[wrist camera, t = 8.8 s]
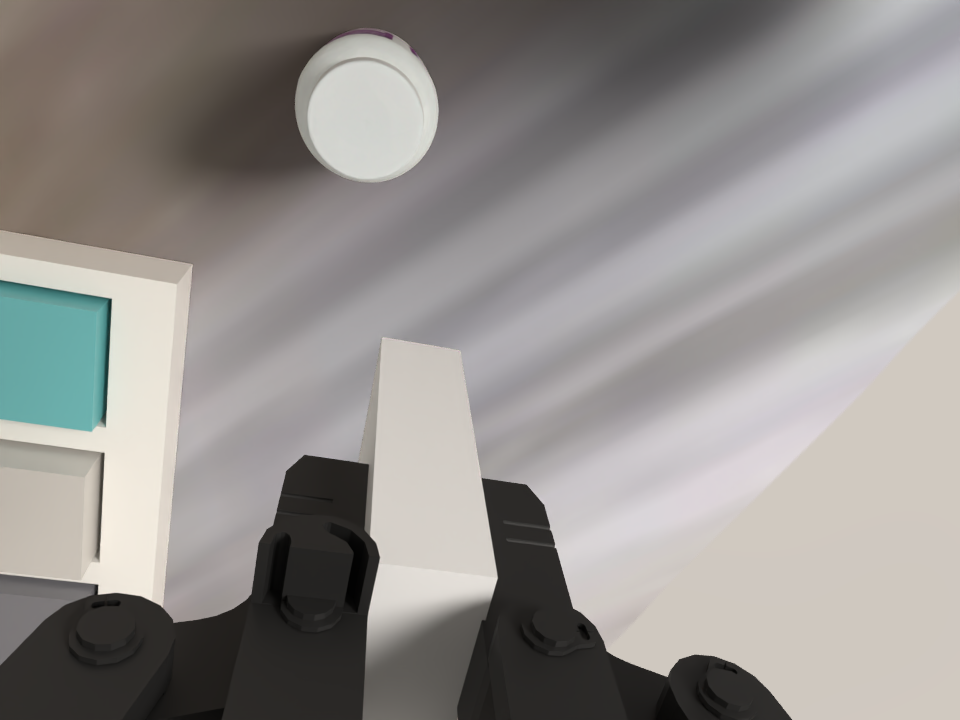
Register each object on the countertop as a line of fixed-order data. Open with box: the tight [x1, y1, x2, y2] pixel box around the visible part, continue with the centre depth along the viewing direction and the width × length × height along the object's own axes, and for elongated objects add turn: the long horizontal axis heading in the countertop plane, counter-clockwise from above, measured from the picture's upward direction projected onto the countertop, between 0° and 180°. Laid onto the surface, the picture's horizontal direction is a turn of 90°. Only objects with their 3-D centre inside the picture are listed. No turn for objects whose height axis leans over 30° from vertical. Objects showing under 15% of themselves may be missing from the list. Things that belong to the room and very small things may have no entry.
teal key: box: [0, 280, 112, 432], centre depth 37 cm, size 6×6×3 cm
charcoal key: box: [0, 574, 99, 665], centre depth 43 cm, size 6×6×3 cm
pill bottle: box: [295, 28, 439, 183], centre depth 32 cm, size 5×5×10 cm
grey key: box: [0, 439, 105, 580], centre depth 39 cm, size 6×6×3 cm
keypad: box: [0, 230, 193, 608], centre depth 41 cm, size 12×25×3 cm, turn 167°
